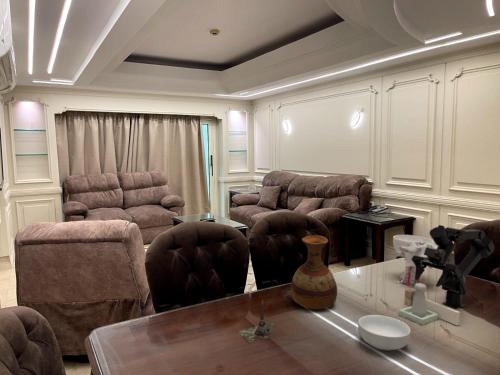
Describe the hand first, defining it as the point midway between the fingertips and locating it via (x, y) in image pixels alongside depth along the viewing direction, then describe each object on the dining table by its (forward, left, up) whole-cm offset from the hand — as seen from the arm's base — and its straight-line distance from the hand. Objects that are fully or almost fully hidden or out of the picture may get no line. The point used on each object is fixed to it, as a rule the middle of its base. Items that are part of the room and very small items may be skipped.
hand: (425, 282), depth 148 cm
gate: (-4, +2, -13) cm, 14 cm away
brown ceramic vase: (+34, -29, -14) cm, 46 cm away
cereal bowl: (+34, +10, -14) cm, 38 cm away
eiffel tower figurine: (+67, -14, -14) cm, 70 cm away
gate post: (-4, -10, -13) cm, 17 cm away
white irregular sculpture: (-29, -29, -14) cm, 43 cm away
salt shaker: (+4, 0, -13) cm, 14 cm away
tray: (+4, 0, -13) cm, 14 cm away
